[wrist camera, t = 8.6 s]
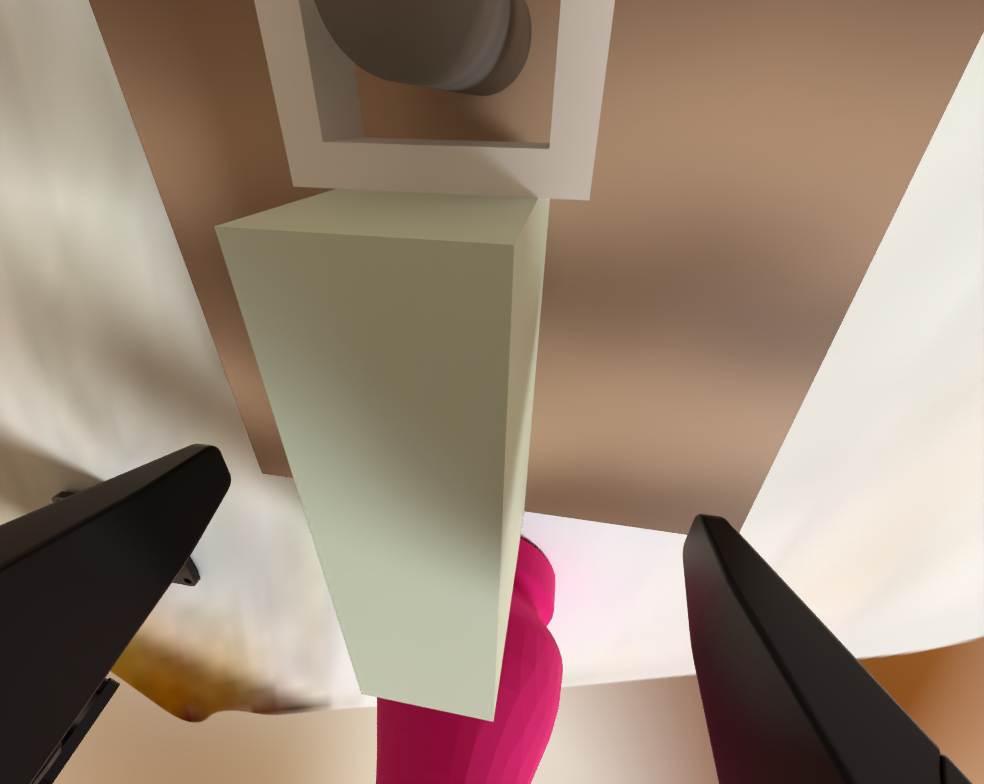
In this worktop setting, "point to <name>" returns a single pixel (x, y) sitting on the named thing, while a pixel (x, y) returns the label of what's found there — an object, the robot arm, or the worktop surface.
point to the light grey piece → (410, 350)
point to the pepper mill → (519, 707)
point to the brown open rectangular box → (596, 203)
